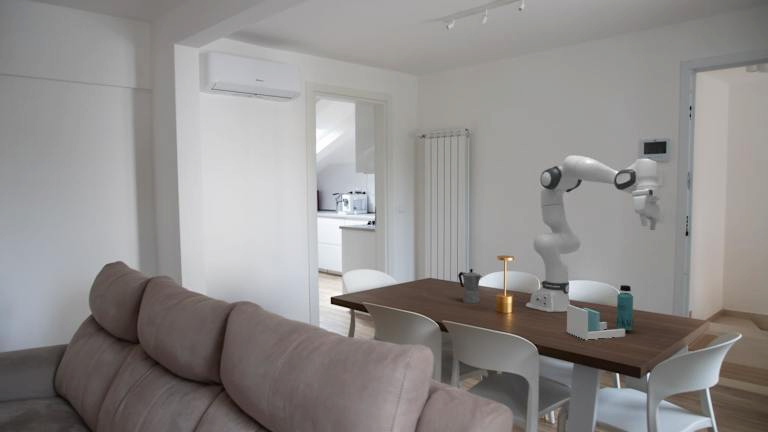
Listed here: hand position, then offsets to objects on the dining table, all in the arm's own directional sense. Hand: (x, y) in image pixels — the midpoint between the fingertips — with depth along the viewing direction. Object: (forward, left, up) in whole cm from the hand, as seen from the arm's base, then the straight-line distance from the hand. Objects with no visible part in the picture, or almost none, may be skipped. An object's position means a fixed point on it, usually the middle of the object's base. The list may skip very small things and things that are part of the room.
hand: (648, 228), depth 217 cm
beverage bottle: (-9, +1, -45) cm, 46 cm away
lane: (-16, -11, -45) cm, 49 cm away
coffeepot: (-93, +6, -45) cm, 104 cm away
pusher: (-18, -14, -45) cm, 50 cm away
